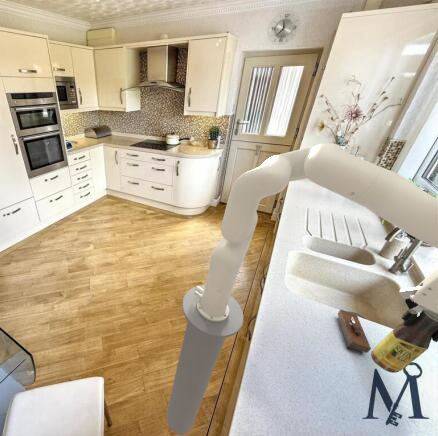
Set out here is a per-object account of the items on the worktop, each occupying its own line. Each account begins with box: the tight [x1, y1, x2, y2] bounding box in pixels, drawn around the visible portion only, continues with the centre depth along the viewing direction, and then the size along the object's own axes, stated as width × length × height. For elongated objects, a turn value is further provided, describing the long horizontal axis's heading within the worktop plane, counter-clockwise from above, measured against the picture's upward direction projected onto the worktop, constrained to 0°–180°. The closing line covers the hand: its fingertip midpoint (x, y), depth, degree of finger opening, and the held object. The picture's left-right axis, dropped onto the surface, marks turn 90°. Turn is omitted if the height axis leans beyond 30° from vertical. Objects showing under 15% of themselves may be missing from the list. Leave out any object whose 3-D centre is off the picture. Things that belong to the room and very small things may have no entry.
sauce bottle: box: [370, 309, 438, 374], centre depth 59 cm, size 7×6×20 cm
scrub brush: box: [336, 309, 372, 354], centre depth 80 cm, size 14×5×6 cm, turn 157°
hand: (419, 329), depth 57 cm, fingers closed on sauce bottle, 4 cm apart
